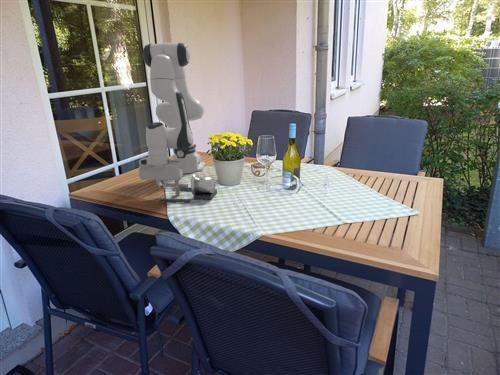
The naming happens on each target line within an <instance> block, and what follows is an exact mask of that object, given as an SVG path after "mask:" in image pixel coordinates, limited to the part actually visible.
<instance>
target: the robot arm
mask: <svg viewBox="0 0 500 375" xmlns="http://www.w3.org/2000/svg"><path fill="white" fill-rule="evenodd" d="M142 57H143V58H142V60H143V61H144V64H145V65H146V66H147V67H149V68H150V70H149V73H150V74H149V80H150V82H149V83H150V90H151V93H152V95H153V96H154V97H155V98H157V99H158V100H160V101H162V102H160V103H159V102H158V104H157V105H156V107H155V116H156V118H157V119H158V120H159V121H161V122H156V121H155V122H151V123H149V124H147V125H146V129H145V141H146V146H147V149H148V151H147V156H145V157H142V158H140V159H139V160H138V164H139V166H138V176H139V178H140V180H142V181H143V180H146V181H148V180H149V181H150V180H151V181H155V182H156V184H157V186H158V187H159V188H158V189H159V190H165V189H167V187H166V183H168V181H175V180H181V181H182V179H183V177H184V174H191V173H196V172H200V171H203V169H204V168H205V166H206V162H204V161H202V159H201V158H202V157H201V154H199V153H198V152H197V151H196V148H197V144H196V143H194V137H193V135H194V134H193V131H192V128H191V126H190V122H193V121H196V120H200V119H202V118H203V115H204V114H205V108H204V105H203V103H202V102H201V101H200V100H198V99H196V98H195V97H194V96H193V95H192V93H191V92H190V90H189V87H188V83H187V77H186V76H187V75H186V72H185V70H186V69H185V66H187V65H188V64H190V60H191V51H190V49H189V46H188V45H187V43H184V42H178V43H177V42H159V43H149V44H146V45H145V46H144V47H143V49H142ZM168 149H171V150H173V155H172V156H171V157H172V158H171V159H170V155H169V150H168ZM161 181H162V182H161Z"/></svg>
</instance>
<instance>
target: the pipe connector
mask: <svg viewBox="0 0 500 375" xmlns="http://www.w3.org/2000/svg"><path fill="white" fill-rule="evenodd" d="M169 187H170V188H171V191H172V192H175V193H174V194H175V196H176V197H179V195H180V191H179V187H182V188H188V187H189V183H183V181H182V179H181V180H174V182H167V183H166V188H169Z"/></svg>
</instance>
